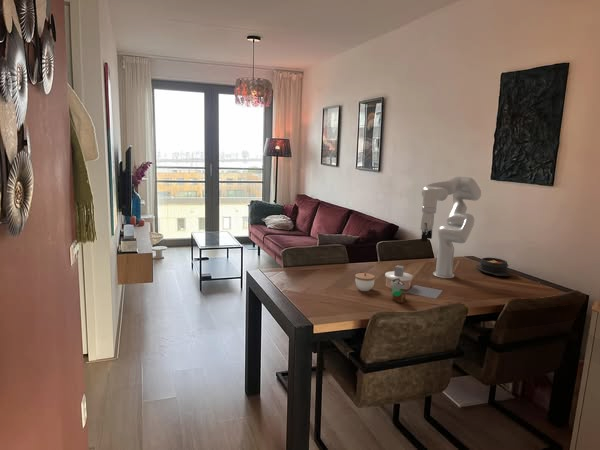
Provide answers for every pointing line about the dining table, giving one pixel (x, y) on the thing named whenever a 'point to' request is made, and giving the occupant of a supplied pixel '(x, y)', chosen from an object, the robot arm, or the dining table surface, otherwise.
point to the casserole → (494, 266)
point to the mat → (424, 291)
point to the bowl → (388, 281)
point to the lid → (399, 274)
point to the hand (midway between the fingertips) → (426, 239)
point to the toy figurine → (398, 291)
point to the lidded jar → (364, 281)
